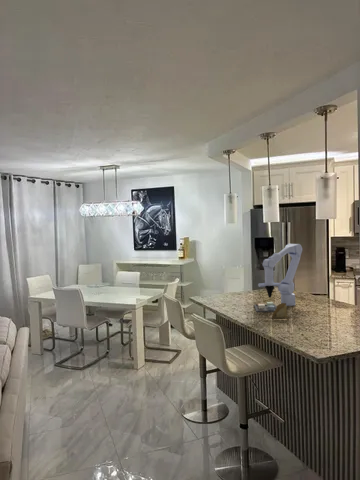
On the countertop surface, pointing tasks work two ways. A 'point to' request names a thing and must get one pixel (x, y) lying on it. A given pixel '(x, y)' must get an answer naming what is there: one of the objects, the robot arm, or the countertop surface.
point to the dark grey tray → (264, 309)
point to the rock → (280, 312)
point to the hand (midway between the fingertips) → (269, 297)
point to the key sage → (270, 304)
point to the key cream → (261, 306)
